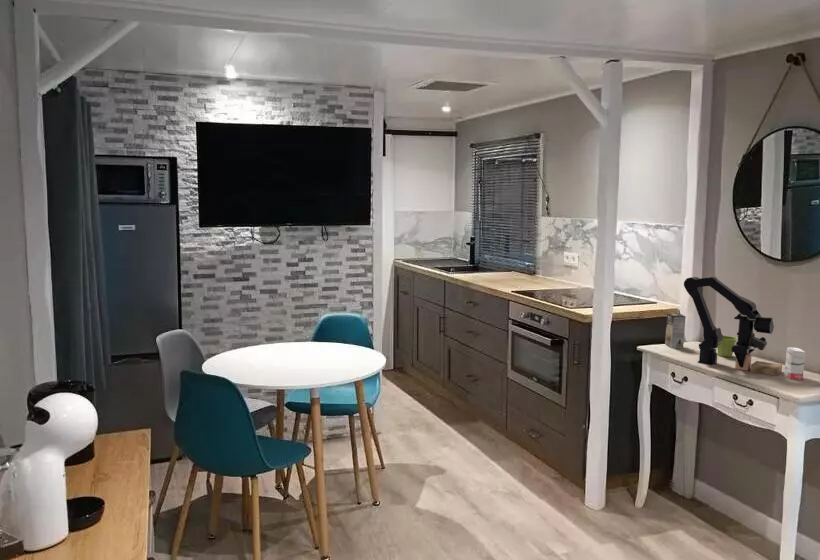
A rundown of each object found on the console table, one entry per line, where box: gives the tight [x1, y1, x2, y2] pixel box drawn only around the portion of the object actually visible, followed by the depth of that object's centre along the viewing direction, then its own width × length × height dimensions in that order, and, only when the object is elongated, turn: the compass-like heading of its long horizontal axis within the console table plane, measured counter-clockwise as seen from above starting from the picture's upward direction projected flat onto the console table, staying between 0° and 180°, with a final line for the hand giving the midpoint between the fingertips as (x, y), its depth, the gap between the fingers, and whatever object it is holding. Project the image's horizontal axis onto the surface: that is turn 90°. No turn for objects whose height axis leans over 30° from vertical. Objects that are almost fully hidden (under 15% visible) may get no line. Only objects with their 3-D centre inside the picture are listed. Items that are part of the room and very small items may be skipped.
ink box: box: [783, 346, 807, 381], centre depth 291 cm, size 9×5×12 cm, turn 168°
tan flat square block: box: [750, 360, 783, 377], centre depth 301 cm, size 10×10×3 cm
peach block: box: [734, 354, 752, 371], centre depth 306 cm, size 5×5×6 cm
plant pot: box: [716, 335, 738, 358], centre depth 331 cm, size 9×9×9 cm
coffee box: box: [664, 312, 686, 349], centre depth 349 cm, size 9×6×16 cm
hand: (742, 366), depth 306 cm, fingers closed on peach block, 5 cm apart
